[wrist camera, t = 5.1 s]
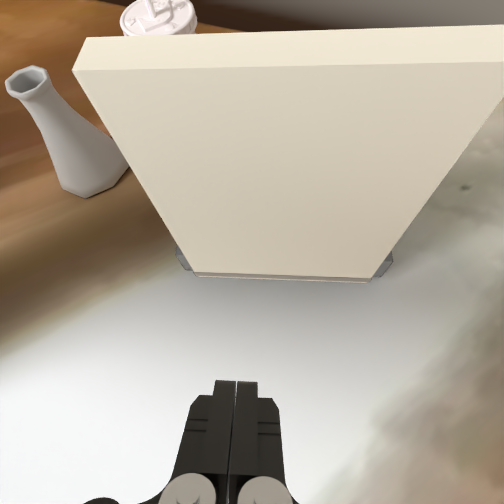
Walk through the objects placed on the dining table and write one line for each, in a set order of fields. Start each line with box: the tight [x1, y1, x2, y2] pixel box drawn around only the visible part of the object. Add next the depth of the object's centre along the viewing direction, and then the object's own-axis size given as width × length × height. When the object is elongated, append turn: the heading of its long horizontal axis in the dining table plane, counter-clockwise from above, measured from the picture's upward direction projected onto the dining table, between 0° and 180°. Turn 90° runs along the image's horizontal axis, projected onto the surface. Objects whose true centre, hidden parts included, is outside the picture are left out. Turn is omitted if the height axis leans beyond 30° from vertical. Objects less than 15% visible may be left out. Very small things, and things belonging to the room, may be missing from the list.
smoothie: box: [120, 0, 197, 36], centre depth 29 cm, size 6×6×14 cm
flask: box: [5, 65, 129, 199], centre depth 29 cm, size 7×7×10 cm
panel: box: [72, 25, 504, 283], centre depth 16 cm, size 12×2×16 cm, turn 86°
